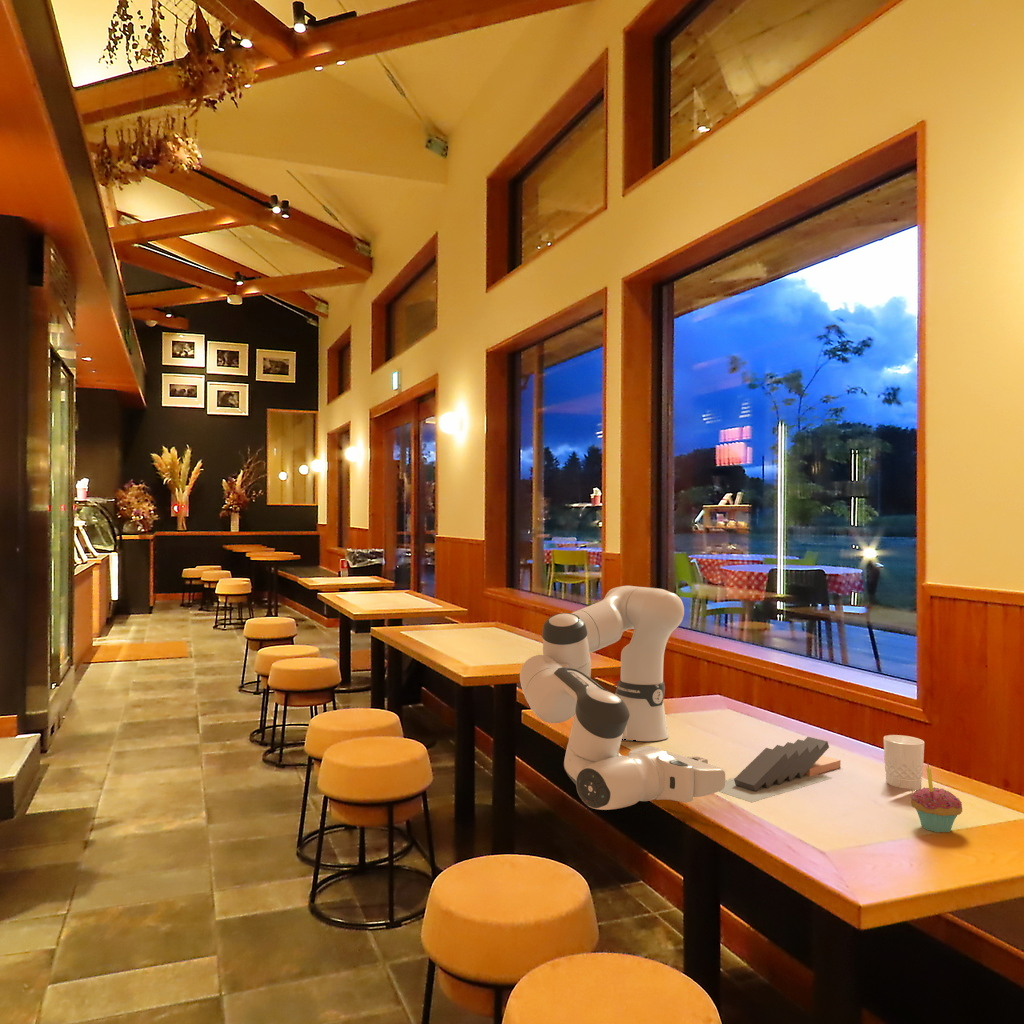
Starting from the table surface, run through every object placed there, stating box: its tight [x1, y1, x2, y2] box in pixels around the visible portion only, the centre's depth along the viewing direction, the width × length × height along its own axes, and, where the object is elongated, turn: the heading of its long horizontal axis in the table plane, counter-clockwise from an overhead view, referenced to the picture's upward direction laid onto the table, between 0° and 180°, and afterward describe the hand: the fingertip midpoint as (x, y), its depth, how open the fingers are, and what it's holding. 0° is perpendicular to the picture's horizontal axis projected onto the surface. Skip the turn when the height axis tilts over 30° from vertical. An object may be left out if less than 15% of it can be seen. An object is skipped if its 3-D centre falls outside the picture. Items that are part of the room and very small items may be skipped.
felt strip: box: [718, 773, 832, 803], centre depth 174 cm, size 12×28×1 cm, turn 127°
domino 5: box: [795, 736, 830, 778], centre depth 182 cm, size 5×2×12 cm
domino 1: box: [734, 747, 788, 792], centre depth 172 cm, size 5×2×12 cm
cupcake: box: [910, 762, 963, 833], centre depth 150 cm, size 9×8×12 cm
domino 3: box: [773, 741, 809, 785], centre depth 177 cm, size 5×2×12 cm
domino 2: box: [761, 744, 799, 789], centre depth 175 cm, size 5×2×12 cm
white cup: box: [883, 734, 925, 792], centre depth 174 cm, size 8×8×10 cm
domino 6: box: [804, 755, 841, 776], centre depth 184 cm, size 5×2×12 cm
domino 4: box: [785, 739, 819, 781], centre depth 179 cm, size 5×2×12 cm
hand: (702, 761), depth 161 cm, fingers closed
